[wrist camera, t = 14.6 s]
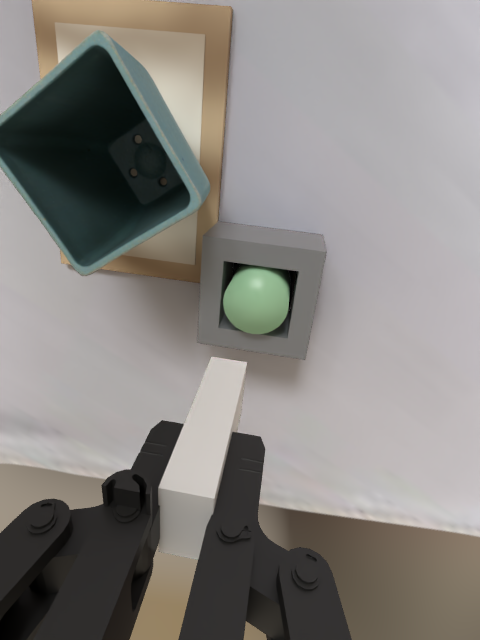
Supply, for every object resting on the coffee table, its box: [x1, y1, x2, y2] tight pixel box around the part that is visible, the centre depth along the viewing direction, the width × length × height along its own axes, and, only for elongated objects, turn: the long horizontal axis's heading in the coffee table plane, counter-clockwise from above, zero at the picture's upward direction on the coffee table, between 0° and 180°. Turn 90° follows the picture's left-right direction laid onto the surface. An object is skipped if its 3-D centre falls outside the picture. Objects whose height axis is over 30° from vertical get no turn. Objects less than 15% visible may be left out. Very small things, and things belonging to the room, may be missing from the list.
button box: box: [197, 221, 326, 360], centre depth 28 cm, size 8×8×5 cm
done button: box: [223, 263, 291, 334], centre depth 28 cm, size 4×4×5 cm
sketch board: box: [32, 0, 233, 283], centre depth 28 cm, size 18×13×1 cm
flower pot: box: [0, 30, 210, 276], centre depth 23 cm, size 9×9×9 cm
